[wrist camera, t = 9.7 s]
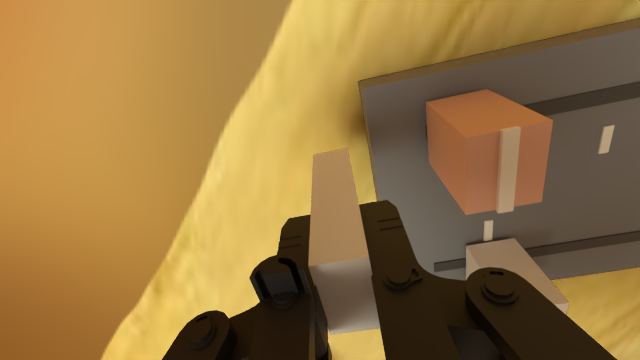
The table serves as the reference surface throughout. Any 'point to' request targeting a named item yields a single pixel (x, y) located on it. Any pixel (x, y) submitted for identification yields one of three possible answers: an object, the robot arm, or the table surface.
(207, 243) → the table surface
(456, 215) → the mixer board
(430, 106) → the fader
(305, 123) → the table surface
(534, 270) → the fader
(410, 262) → the robot arm
